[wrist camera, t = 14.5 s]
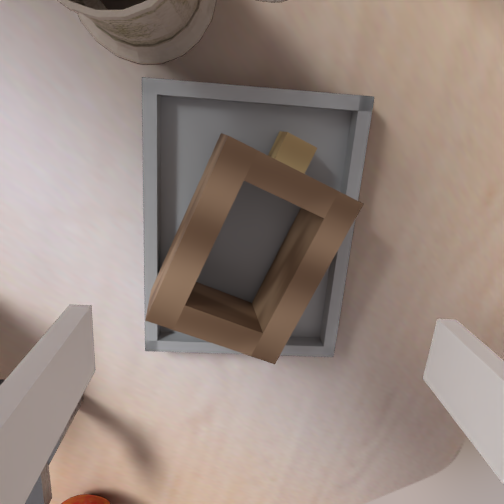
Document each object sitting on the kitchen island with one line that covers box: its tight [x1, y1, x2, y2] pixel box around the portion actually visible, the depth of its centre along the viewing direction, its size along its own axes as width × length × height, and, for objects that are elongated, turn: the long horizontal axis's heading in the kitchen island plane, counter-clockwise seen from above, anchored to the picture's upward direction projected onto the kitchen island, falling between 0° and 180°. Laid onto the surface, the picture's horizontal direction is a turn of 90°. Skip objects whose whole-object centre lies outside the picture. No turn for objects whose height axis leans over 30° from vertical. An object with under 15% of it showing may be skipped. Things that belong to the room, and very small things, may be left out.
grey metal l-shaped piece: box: [25, 395, 83, 504], centre depth 33 cm, size 5×2×8 cm, turn 176°
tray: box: [142, 77, 374, 357], centre depth 31 cm, size 21×16×2 cm
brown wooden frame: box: [145, 131, 363, 364], centre depth 28 cm, size 15×10×5 cm, turn 154°
